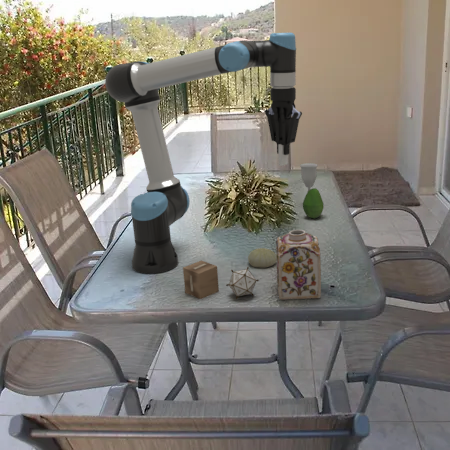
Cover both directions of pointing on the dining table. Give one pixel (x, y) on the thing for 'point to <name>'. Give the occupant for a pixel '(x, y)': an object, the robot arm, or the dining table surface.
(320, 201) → the avocado
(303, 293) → the decorative jar
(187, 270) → the marked walnut block
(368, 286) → the dining table surface
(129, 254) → the dining table surface
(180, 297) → the dining table surface
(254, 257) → the sea urchin shell
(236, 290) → the game die
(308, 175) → the chalice
